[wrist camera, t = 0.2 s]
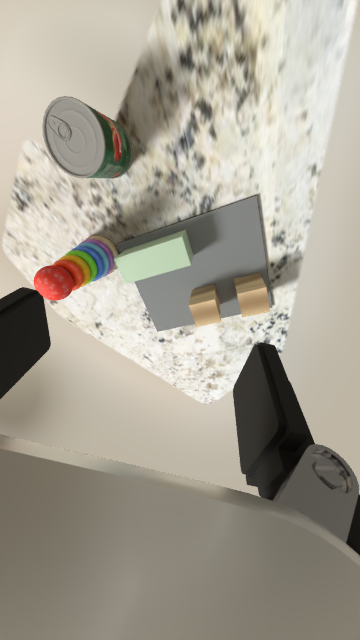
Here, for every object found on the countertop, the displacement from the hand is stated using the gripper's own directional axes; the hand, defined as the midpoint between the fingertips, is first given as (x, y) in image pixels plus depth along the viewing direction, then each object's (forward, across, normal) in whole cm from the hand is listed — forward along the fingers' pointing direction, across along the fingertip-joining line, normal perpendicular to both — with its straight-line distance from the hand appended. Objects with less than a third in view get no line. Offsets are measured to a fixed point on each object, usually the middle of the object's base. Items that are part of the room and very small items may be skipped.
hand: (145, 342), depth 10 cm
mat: (+37, -3, +10) cm, 38 cm away
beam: (+36, +6, +7) cm, 37 cm away
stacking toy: (+37, +18, +10) cm, 42 cm away
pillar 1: (+36, -6, +14) cm, 39 cm away
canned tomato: (+37, +17, -8) cm, 41 cm away
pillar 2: (+36, -14, +10) cm, 40 cm away
